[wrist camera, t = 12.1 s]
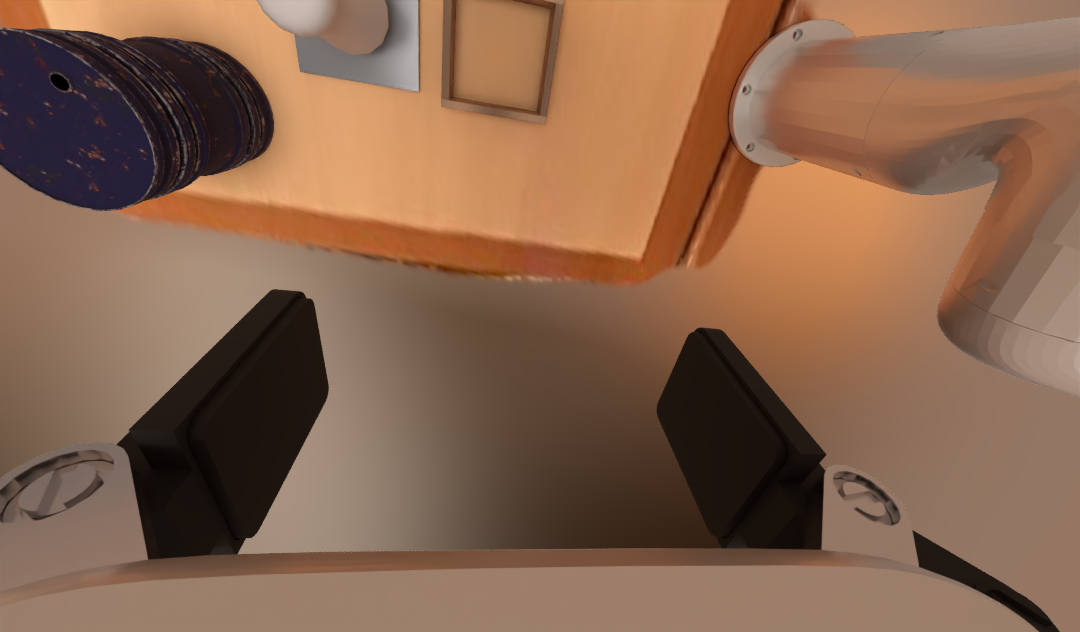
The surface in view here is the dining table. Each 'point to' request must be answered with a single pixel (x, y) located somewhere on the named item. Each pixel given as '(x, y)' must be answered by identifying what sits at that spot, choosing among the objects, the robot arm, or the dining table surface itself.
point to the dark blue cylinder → (123, 115)
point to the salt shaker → (333, 21)
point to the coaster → (372, 53)
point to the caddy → (449, 16)
